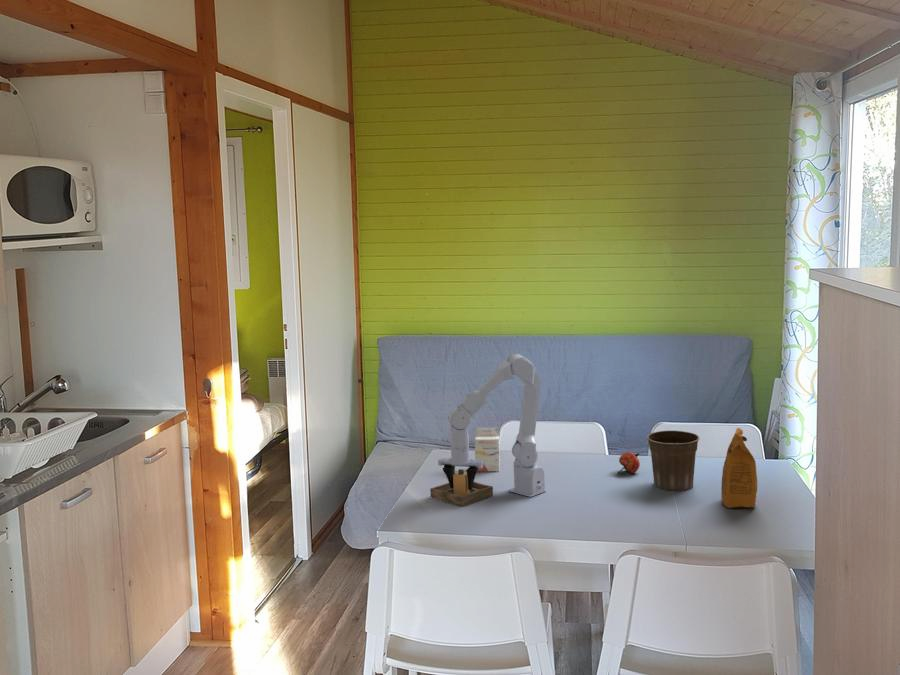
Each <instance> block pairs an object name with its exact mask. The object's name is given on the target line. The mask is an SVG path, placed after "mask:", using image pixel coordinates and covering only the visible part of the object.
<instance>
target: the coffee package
mask: <svg viewBox="0 0 900 675" xmlns="http://www.w3.org/2000/svg"><path fill="white" fill-rule="evenodd" d="M734 432H735V433H734V434H733V436H732V439H731V441H730V443H729V445H728V446H727V451H726V456H725V459H724V463H723V467H722V474H721V475H722V476H721V489H720V490H721V494H720V495H721V501H722V503H723V505H724V506H725V508H728V509H733V508H735V509H736V508H755V507H756V501H757V492H758V473H757V464H756V463H757V462H756V460H755V458H754V455H753V454H752V453H751V452H750V449H749V448H748V447H747V446H746V444H745V442H747V441H748V439H747V437H746V436H744V435H743V433H744V430H742V429H741V427H737V428H736V429H735V431H734Z"/></svg>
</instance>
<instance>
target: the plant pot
mask: <svg viewBox="0 0 900 675" xmlns="http://www.w3.org/2000/svg"><path fill="white" fill-rule="evenodd" d="M646 439H647V441H648V447H649V450H650V457H651V464H652V466H651V467H652V475H653V484H654V487H656V488H658V489H660V490H664V491H672V490H675V491H676V492H677V491H687V490H689V489H692V488H693V487H694V480H695V466H696V465H695V463H696V456H697V451H698V446H699V445H698V444H699V440H700V436H699V435H698V434H696V433H693V432H690V431H685V430H659V431H655V432H651V433H648V434H647V435H646Z"/></svg>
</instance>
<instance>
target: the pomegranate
mask: <svg viewBox="0 0 900 675" xmlns="http://www.w3.org/2000/svg"><path fill="white" fill-rule="evenodd" d="M639 456H640V453H639V452H637V453H635V454H634V453H632V452H624V453H622V454H621V456H619V458H618V462H619V464H620V465H622V466H623V467H622V468H621V469H620V470H619V471H617V474H619V473H621V472H622V471H623V470H625V471H626V472H628V473H630V474H635V473H636V472H638V470H639V469H640V466H641V465H640V464H641V462H640V459H639Z"/></svg>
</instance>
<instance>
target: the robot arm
mask: <svg viewBox="0 0 900 675" xmlns="http://www.w3.org/2000/svg"><path fill="white" fill-rule="evenodd" d="M515 376H516V377H517V378H518V379H519V380H520V381H521V382H522V383H523V384H524V387H523V388H524V389H523V395H522V396H523V397H522V404H521V405H522V406H521V411H520V413H521V414H520V421H519V428H518V429H519V430H518V433H517V435H516V436H515V442H514V444H513V445H512V448H511V453H512V455H513V456H514V458H515V459H514V461H513V486H514V487H513V488H509V489H508V492H511V493H515V494H518V495H522V496H526V497H530V498H531V497H534V496H537V495H539V494H542V493H545V492H547V489H546V488H545V487H546V486H545V471H544V469H543V468H542V467H540V466H538V465H537V460H538V452H537V441H536V437H535V436H536V435H535V434H536V428H537V427H536V426H537V420H538V412H539V403H540V395H541V388H542V380H541V377H540V375H539V374H538V372H537V369H536V367H535V364H533V363H532V362H531V360H529V359H528V358H527V357H524V356H523V355H522V354H519V353H513V354H511V355H509V356H508V357H507V358H506V359H505V360H503V361H502V362H501V364H500V365H499V366H498V367H497V369H496V370H495V371H494V372H493V373H492V374H491V375H490V377H489V378H488V379H487V380H486V381H485V382H484V383H483V384H482V385H481V387H480V388H479V389H478V390H477V389H476V390H472V391H471V392H470V391H468V392H467V393H466V397H465V398H464V400H462V402H461V403H460V404H456V406H455V408H453V409H452V410H450V412H449V413H448V415H449V416H447V419H448V422H449V423H450V427H449V428H450V434H449V435H450V456H451V457H445V458H444V457H440V458H438V459H437V464H438V465H437V466H440V467H442V466H443V468H442V472H443V473H444V475H446V478H447V481H448V483H449V484H450V488H451V489H453V488H454V484H453V475H454V474H455V473H456V472H455V471H456V467H461V468H462V467H465V468H466V467H467V469H466V471H465V472H467V476H468V490H471V489H472V488H473V482H475V479H476V475H477V472H479V471H478V469H479V468H483V461H479V460H475V458H474V459H473V458H470V439H469V425H470V423H471V419H472V418H473V417H474V416H475V415H476V414H478V412H479V411H480V410H481V409H482V408H483V407H484V406H485V405H486V404H487V397H488V396H490V394H492V393H493V392H494V391H495V389H497V388H498V387H499V386H500V385H501V384H502V383H503V382H504V381H508V380H514V379H515Z"/></svg>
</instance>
